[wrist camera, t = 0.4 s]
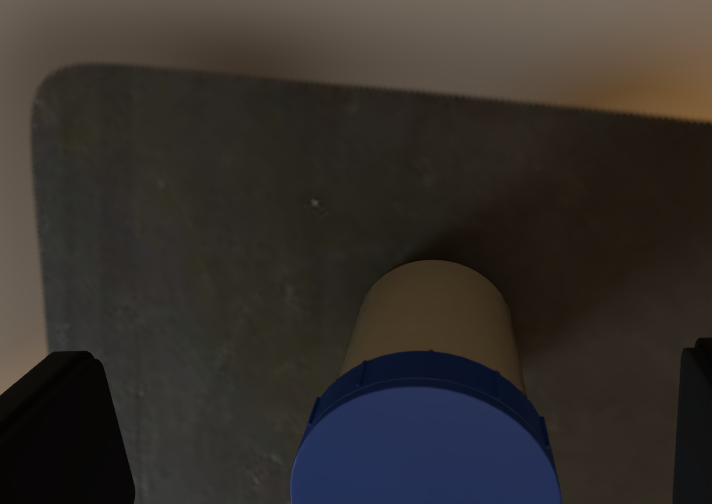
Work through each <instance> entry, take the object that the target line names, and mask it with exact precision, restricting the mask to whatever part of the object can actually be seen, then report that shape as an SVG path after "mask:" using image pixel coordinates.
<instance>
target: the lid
mask: <svg viewBox="0 0 712 504" xmlns="http://www.w3.org/2000/svg"><path fill="white" fill-rule="evenodd" d="M290 497H291V504H562V501H561V491H560V485H559V481H558V477H557V472H556V468H555V463H554V459H553V454H552V450H551V445H550V441H549V438H548V433H547V429H546V424H545V420H544V417H543V416H542V417H540V416H539V414H538V413H537V411H536V409H535V408H534V406H533V405H532V403H531V402H530V401H529V400H528V399H527V398H526V396H525V395H524V394H523V393H522V392H521V391H520V390H519V389H518V388H517V387H516V386H515V385H513V384H512V383H511V382H510V381H509V380H507V379H506V378H504V377H503V376H502V375H500V372H499V371H498V370H496V371H494V370H492V369H490V368H488V367H486V366H484V365H483V364H481V363H478V362H475V361H473V360H470V359H468V358H465V357H461V356H457V355H453V354H449V353H443V352H436V351H433V350H431V349H429V351H405V352H396V353H392V354H387V355H383V356H380V357H377V358H374V359H371V360H368V361H366V360H364V361H362V364H360V365H358V366H356V367H354V368H352V369H351V370H349V371H348V372H346V373H345V374H343V375H342V376H341V377H339V378H338V379H337V380H336V381H335V382H334V383H333V384H332V385H331V386H329V387H328V389H327V390H326V391H325V392H324V394H323V395H322V396H321V397H320V398H319V397H317V399H316V401H315V404H314V406H313V409H312V412H311V415H310V417H309V420H308V423H307V427H306V430H305V432H304V435H303V438H302V441H301V443H300V446H299V449H298V452H297V454H296V457H295V460H294V463H293V468H292V472H291V479H290Z"/></svg>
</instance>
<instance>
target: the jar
mask: <svg viewBox="0 0 712 504" xmlns="http://www.w3.org/2000/svg"><path fill="white" fill-rule="evenodd" d="M429 349H431V350H433V351H436V352H443V353H449V354H453V355H457V356H461V357H465V358H468V359H470V360H473V361H475V362H478V363H481V364H483V365H484V366H486V367H488V368H490V369H492V370H494V371H496V370H498V371H499V372H500V375H502V376H503V377H504V378H506V379H507V380H509V381H510V382H511V383H512V384H513V385H515V386H516V387H517V388H518V389H519V390H520V391H521V392H522V393H523V394H524V395H525V396H526V398H527V395H526V389H525V384H524V379H523V373H522V368H521V363H520V358H519V352H518V347H517V342H516V336H515V331H514V326H513V321H512V317H511V313H510V310H509V308H508V305H507V303H506V301H505V300H504V298H503V296H502V295H501V293H500V292H499V291H498V290H497V288H496V287H495V286H494V285H493V284H492V283H491V282H490V281H489V280H488V279H487V278H485V277H484V276H482V275H481V274H480V273H478V272H476V271H474V270H472V269H471V268H469V267H466V266H463V265H461V264H458V263H454V262H450V261H443V260H422V261H416V262H412V263H408V264H405V265H402V266H400V267H397V268H395V269H393V270H392V271H390V272H388V273H387V274H385V275H384V276H383V277H381V278H380V279H379V280H378V281H377V282H376V283H375V284H374V285H373V286H372V287H371V289H370V290H369V291H368V292H367V294H366V296H365V298H364V299H363V301H362V304H361V306H360V309H359V312H358V315H357V318H356V321H355V324H354V327H353V330H352V333H351V336H350V339H349V342H348V345H347V348H346V351H345V354H344V357H343V360H342V363H341V366H340V369H339V372H338V375H337V378H336V380H337V379H338V378H339V377H341V376H342V375H343V374H345V373H346V372H348V371H349V370H351V369H352V368H354V367H356V366H358V365H360V364H362V361H364V360H366V361H368V360H371V359H374V358H377V357H380V356H383V355H387V354H392V353H396V352H405V351H429Z"/></svg>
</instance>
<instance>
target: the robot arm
mask: <svg viewBox="0 0 712 504" xmlns="http://www.w3.org/2000/svg"><path fill="white" fill-rule="evenodd" d="M134 500H135V486H134V482H133V478H132V474H131V470H130V467H129V463H128V459H127V455H126V451H125V447H124V444H123V440H122V436H121V432H120V428H119V424H118V420H117V417H116V413H115V409H114V405H113V401H112V397H111V394H110V390H109V386H108V382H107V378H106V374H105V371H104V367H103V365H102V363H101V362H100V361H99V360H98V359H94V357H93V355H92V354H91V353H89V352H88V351H61V352H53V353H51V354H49V355H48V356H47V357H46V358H45V359H44V360H42V361H41V362H40V363H39V364H37V365H36V366H35V367H34V368H33V369H31V370H30V371H29V372H28V373H27V374H25V375H24V376H23V377H22V378H21V379H19V380H18V381H17V382H16V383H15V384H13V385H12V386H11V387H10V388H9V389H7V390H6V391H5V392H4V393H3V394H1V395H0V504H134ZM673 504H712V338H698V339H697V341H696V344H695V347H694V348H684V349H683V352H682V356H681V369H680V386H679V402H678V418H677V434H676V451H675V467H674V483H673Z"/></svg>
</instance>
